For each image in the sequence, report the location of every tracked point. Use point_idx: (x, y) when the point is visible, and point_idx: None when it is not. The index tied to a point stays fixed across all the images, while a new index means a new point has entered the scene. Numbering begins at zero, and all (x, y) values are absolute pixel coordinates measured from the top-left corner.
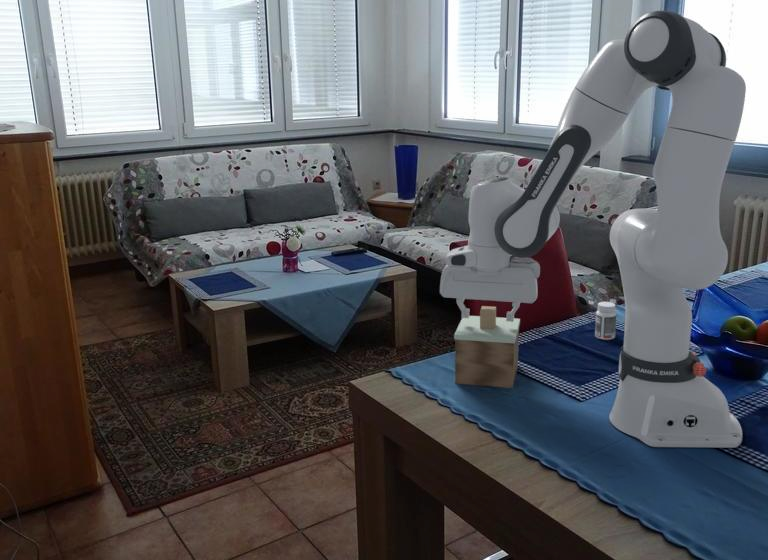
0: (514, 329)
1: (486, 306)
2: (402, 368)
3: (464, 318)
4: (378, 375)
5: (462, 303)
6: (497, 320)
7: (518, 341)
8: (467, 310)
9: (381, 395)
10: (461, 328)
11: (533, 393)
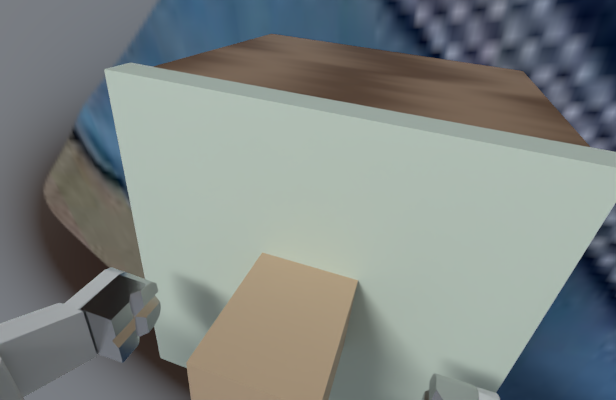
0: (481, 376)
1: (226, 382)
2: (94, 109)
3: (133, 145)
4: (62, 159)
5: (26, 356)
6: (376, 203)
7: (553, 107)
8: (112, 351)
9: (120, 263)
10: (167, 299)
11: None
